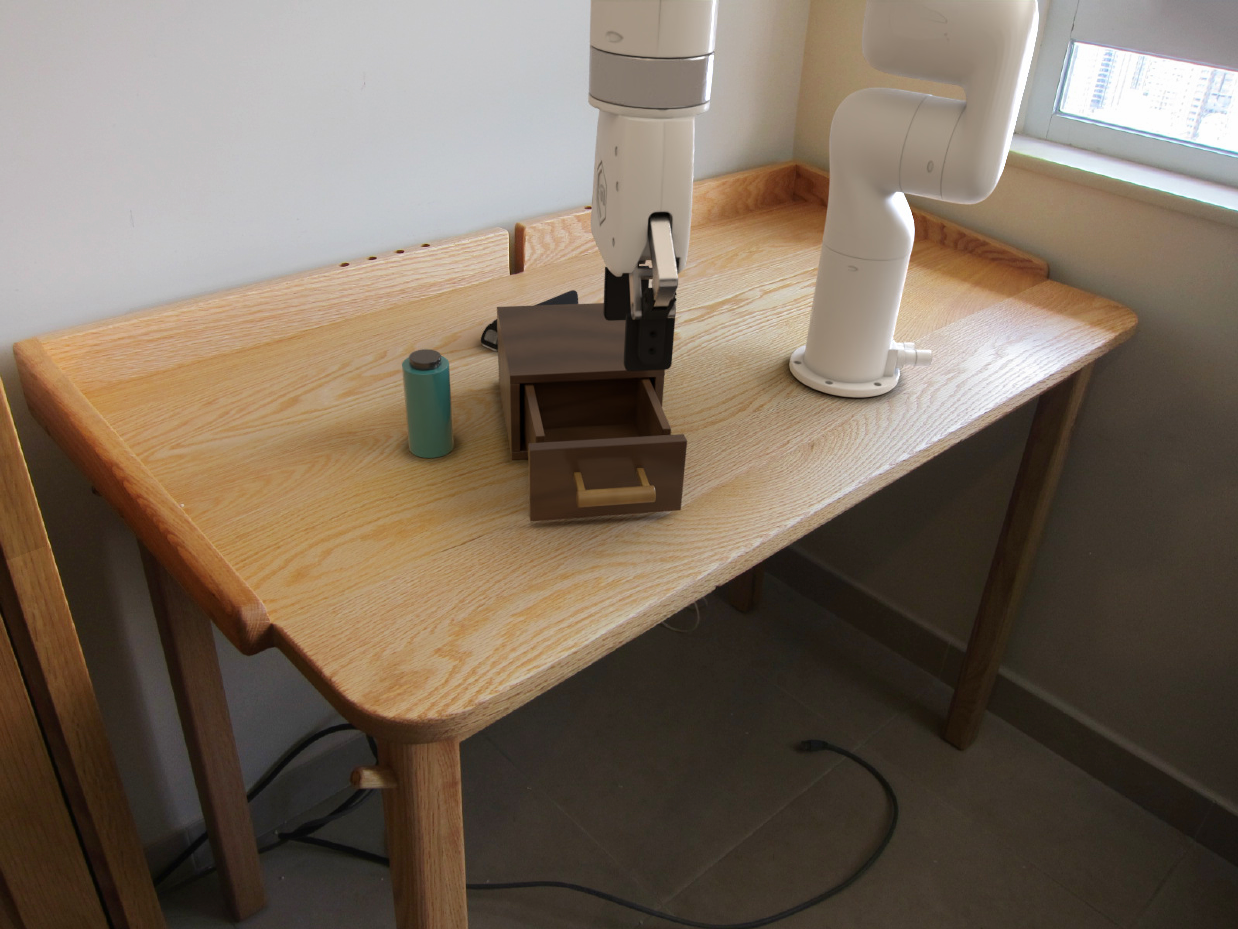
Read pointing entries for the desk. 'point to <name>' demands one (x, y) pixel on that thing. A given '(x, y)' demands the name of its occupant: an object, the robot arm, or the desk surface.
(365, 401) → the desk surface
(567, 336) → the cabinet
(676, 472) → the drawer
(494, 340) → the electric trimmer
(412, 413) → the bottle
